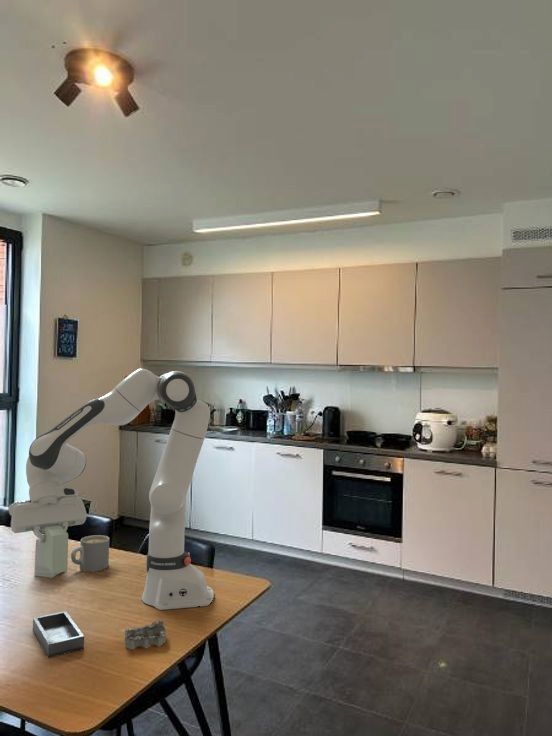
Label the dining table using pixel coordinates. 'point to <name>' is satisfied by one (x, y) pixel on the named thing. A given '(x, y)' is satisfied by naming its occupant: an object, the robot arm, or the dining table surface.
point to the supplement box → (41, 562)
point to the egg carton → (147, 631)
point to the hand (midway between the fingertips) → (53, 540)
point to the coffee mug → (92, 553)
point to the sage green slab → (56, 549)
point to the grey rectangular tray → (58, 634)
